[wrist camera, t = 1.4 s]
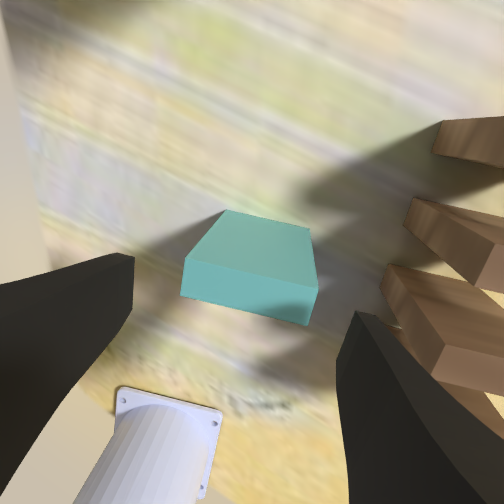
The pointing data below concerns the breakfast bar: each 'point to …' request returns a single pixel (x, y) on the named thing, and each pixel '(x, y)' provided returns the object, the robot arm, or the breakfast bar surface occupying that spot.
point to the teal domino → (254, 268)
